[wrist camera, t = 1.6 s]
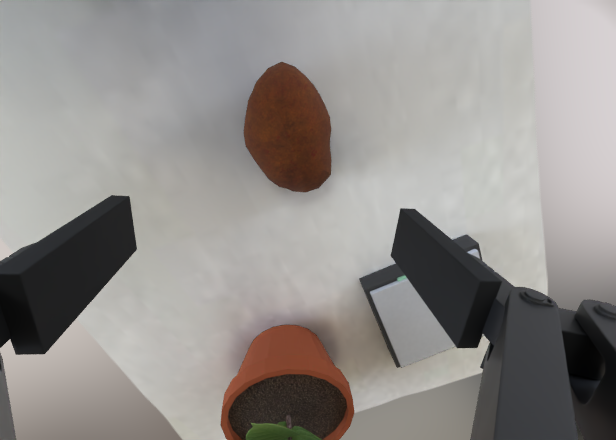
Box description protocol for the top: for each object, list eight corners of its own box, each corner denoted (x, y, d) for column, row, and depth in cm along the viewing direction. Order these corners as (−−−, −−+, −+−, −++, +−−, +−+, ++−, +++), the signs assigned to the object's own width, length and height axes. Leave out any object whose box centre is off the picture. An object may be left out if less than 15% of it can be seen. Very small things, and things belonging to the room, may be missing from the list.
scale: (358, 278, 38) (365, 293, 35) (466, 234, 37) (482, 245, 34) (390, 354, 43) (398, 371, 41) (485, 317, 42) (500, 332, 40)
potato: (272, 196, 33) (271, 226, 25) (227, 84, 28) (211, 82, 21) (340, 172, 33) (359, 196, 25) (305, 56, 28) (316, 43, 21)
